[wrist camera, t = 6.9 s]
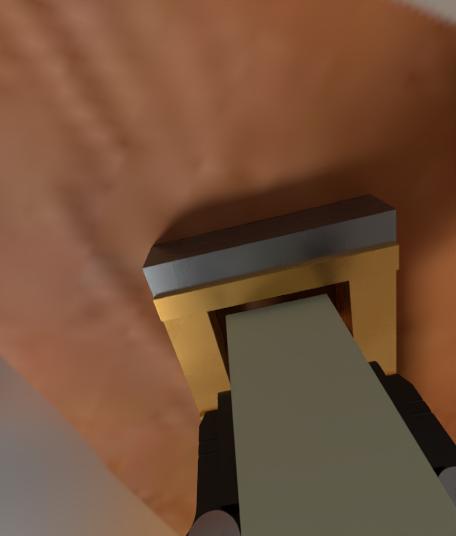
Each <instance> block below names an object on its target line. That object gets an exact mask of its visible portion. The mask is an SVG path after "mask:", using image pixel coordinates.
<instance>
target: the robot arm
mask: <svg viewBox="0 0 456 536" xmlns="http://www.w3.org/2000/svg"><path fill="white" fill-rule="evenodd" d="M368 363H369V365H370V366H371V368H372V370H373V371H374V373H375V375H376V376H377V378H378V380H379V381H380V383H381V384H382V386H383V388H384V389H385V391H386V393H387V394H388V396H389V398H390V399H391V401H392V403H393V404H394V406H395V408H396V409H397V411H398V412H399V414H400V416H401V417H402V419H403V421H404V422H405V424H406V426H407V427H408V429H409V431H410V432H411V434H412V436H413V437H414V439H415V441H416V442H417V444H418V445H419V447H420V449H421V450H422V452H423V454H424V455H425V457H426V459H427V460H428V462H429V464H430V465H431V467H432V469H433V470H434V472H435V474H436V475H437V477H438V478H439V480H440V482H441V483H442V485H443V487H444V488H445V490H446V492H447V493H448V495H449V497H450V498H451V500H452V502H453V503H454V505H455V507H456V445H455V443H454V442H453V441H452V439H451V438H450V436H449V435H448V434H447V432H446V431H445V429H444V428H443V427H442V425H441V424H440V422H439V421H438V420H437V418H436V417H435V415H434V414H432V413H431V410H430V408H429V407H428V406H427V404H426V403H425V401H423V399H422V397H421V396H420V394H419V393H418V392H417V390H416V389H415V387H414V386H413V385H412V384H411V383H410V382H408V381H407V380H406V379H404V378H403V377H401V376H400V375H399V374H392V375H387V376H386V374H385V373H384V371H383V370H382V368H381V366H380V365H379V364H378V362H377V361H371V362H368ZM198 455H199V458H198V479H197V508H196V515H195V519H194V522H193V525H192V527H191V529H190V531H189V532H188V534H187V535H186V536H241V523H240V509H239V495H238V481H237V467H236V453H235V439H234V425H233V411H232V397H231V390H227V391H222V392H218V409H216V410H211V411H206V412H205V414H204V417H203V419H202V421H201V424H200V426H199V450H198Z"/></svg>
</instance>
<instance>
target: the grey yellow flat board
mask: <svg viewBox="0 0 456 536" xmlns="http://www.w3.org/2000/svg"><path fill="white" fill-rule="evenodd" d="M142 269H143V271H144V274H145V276H146V279H147V281H148V284H149V286H150V289H151V291H152V294H153V296H154V299H153V301H154V304H155V306H156V309H157V311H158V314H159V316H160V319H161V321H164V324H165V326H166V329H167V331H168V334H169V336H170V339H171V341H172V344H173V346H174V349H175V351H176V354H177V356H178V359H179V361H180V364H181V367H182V369H183V372H184V374H185V377H186V379H187V382H188V384H189V387H190V389H191V392H192V394H193V397H194V399H195V402H196V404H197V407H198V409H199V412H200V418H201V421H202V419H203V417H204V414H205V412H206V411H211V410H216V409H218V392H222V391H227V390H231V383H230V369H229V355H228V351H227V348H226V344H225V341H224V338H223V334H222V331H221V328H220V325H219V321H218V318H217V315H216V311H215V310H217V309H222V308H226V307H231V306H235V305H240V304H244V303H249V302H254V301H258V300H263V299H267V298H272V297H276V296H281V295H285V294H290V293H294V292H299V291H304V290H308V289H313V288H317V287H322V286H326V285H331V284H335V294H336V304H337V312H338V314H339V315H340V317H341V318H342V320H343V322H344V323H345V325H346V327H347V328H348V330H349V332H350V333H351V335H352V337H353V338H354V340H355V342H356V343H357V345H358V347H359V348H360V350H361V351H362V353H363V355H364V356H365V358H366V360H367V361H368V362H371V361H377V362H378V364H379V365H380V366H381V368H382V370H383V371H384V373H385V374H386V376H387V375H392V374H396V270H399V244H397V243H396V209H395V208H393V207H391V206H389V205H388V204H386V203H384V202H383V201H381V200H379V199H377V198H376V197H374V196H372V195H368V196H363V197H359V198H355V199H351V200H346V201H342V202H338V203H334V204H329V205H325V206H321V207H317V208H313V209H308V210H304V211H300V212H296V213H291V214H287V215H283V216H279V217H274V218H270V219H266V220H262V221H258V222H253V223H249V224H245V225H241V226H236V227H232V228H228V229H224V230H219V231H215V232H211V233H207V234H203V235H198V236H194V237H190V238H186V239H181V240H177V241H173V242H169V243H164V244H160V245H156V246H152V247H151V249H150V252H149V254H148V256H147V259H146V261H145V263H144V266H143V268H142Z"/></svg>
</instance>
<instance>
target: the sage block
mask: <svg viewBox="0 0 456 536" xmlns="http://www.w3.org/2000/svg"><path fill="white" fill-rule="evenodd" d="M226 327H227V341H228V355H229V369H230V383H231V397H232V411H233V425H234V439H235V453H236V467H237V481H238V495H239V509H240V523H241V536H456V507H455V505H454V503H453V502H452V500H451V498H450V497H449V495H448V493H447V492H446V490H445V488H444V487H443V485H442V483H441V482H440V480H439V478H438V477H437V475H436V474H435V472H434V470H433V469H432V467H431V465H430V464H429V462H428V460H427V459H426V457H425V455H424V454H423V452H422V450H421V449H420V447H419V445H418V444H417V442H416V441H415V439H414V437H413V436H412V434H411V432H410V431H409V429H408V427H407V426H406V424H405V422H404V421H403V419H402V417H401V416H400V414H399V412H398V411H397V409H396V408H395V406H394V404H393V403H392V401H391V399H390V398H389V396H388V394H387V393H386V391H385V389H384V388H383V386H382V384H381V383H380V381H379V380H378V378H377V376H376V375H375V373H374V371H373V370H372V368H371V366H370V365H369V363H368V361H367V360H366V358H365V356H364V355H363V353H362V351H361V350H360V348H359V347H358V345H357V343H356V342H355V340H354V338H353V337H352V335H351V333H350V332H349V330H348V328H347V327H346V325H345V323H344V322H343V320H342V318H341V317H340V315H339V314H338V312H337V310H336V309H335V307H334V305H333V304H332V302H331V300H330V299H329V297H328V295H327V294H322V295H317V296H313V297H308V298H304V299H299V300H294V301H290V302H285V303H281V304H276V305H271V306H267V307H262V308H258V309H253V310H248V311H244V312H239V313H235V314H230V315H226Z"/></svg>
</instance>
